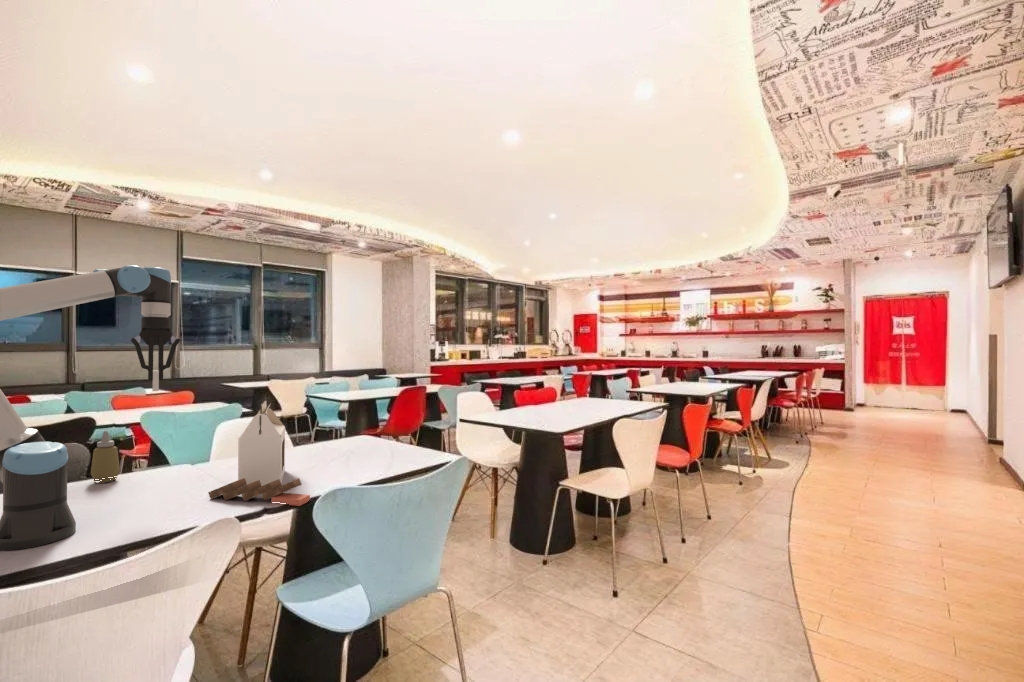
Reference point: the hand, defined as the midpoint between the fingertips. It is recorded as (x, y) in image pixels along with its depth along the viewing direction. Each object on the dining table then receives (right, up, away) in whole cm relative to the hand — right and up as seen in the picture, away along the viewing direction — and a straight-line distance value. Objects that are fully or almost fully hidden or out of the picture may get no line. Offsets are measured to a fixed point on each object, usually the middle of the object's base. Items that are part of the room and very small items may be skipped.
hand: (155, 390), depth 155 cm
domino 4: (+36, -33, -1) cm, 49 cm away
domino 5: (+39, -34, -1) cm, 52 cm away
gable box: (+23, -35, +23) cm, 47 cm away
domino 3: (+30, -33, 0) cm, 44 cm away
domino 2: (+23, -34, +1) cm, 41 cm away
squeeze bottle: (-32, -35, +19) cm, 51 cm away
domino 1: (+17, -33, +3) cm, 38 cm away
